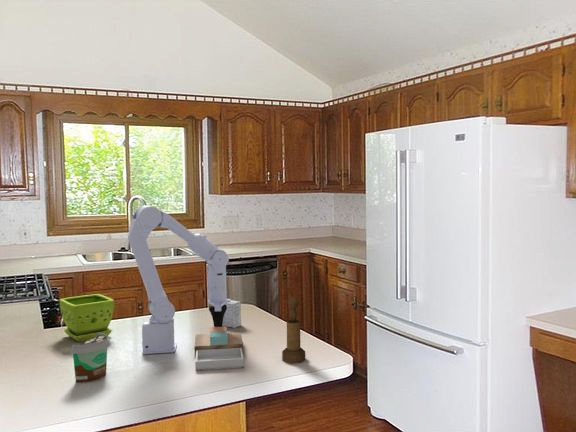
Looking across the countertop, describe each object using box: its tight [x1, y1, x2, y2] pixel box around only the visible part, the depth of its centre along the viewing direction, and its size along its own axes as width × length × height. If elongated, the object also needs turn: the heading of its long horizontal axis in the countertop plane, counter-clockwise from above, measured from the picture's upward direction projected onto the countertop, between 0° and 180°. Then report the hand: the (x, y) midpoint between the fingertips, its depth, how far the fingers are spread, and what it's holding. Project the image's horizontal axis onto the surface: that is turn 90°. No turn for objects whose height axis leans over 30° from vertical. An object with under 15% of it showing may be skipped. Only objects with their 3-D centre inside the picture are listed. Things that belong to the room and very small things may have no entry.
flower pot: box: [59, 293, 115, 343], centre depth 173 cm, size 14×14×13 cm
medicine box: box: [222, 299, 242, 329], centre depth 185 cm, size 8×4×9 cm, turn 58°
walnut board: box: [194, 331, 244, 359], centre depth 157 cm, size 14×12×4 cm
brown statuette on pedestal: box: [281, 296, 306, 364], centre depth 148 cm, size 7×6×18 cm
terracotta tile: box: [209, 326, 228, 333], centre depth 159 cm, size 5×5×2 cm
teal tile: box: [209, 330, 228, 346], centre depth 153 cm, size 5×5×2 cm
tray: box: [194, 348, 245, 372], centre depth 146 cm, size 13×10×2 cm
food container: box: [70, 333, 111, 383], centre depth 136 cm, size 12×6×10 cm, turn 168°
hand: (218, 328), depth 166 cm, fingers closed
